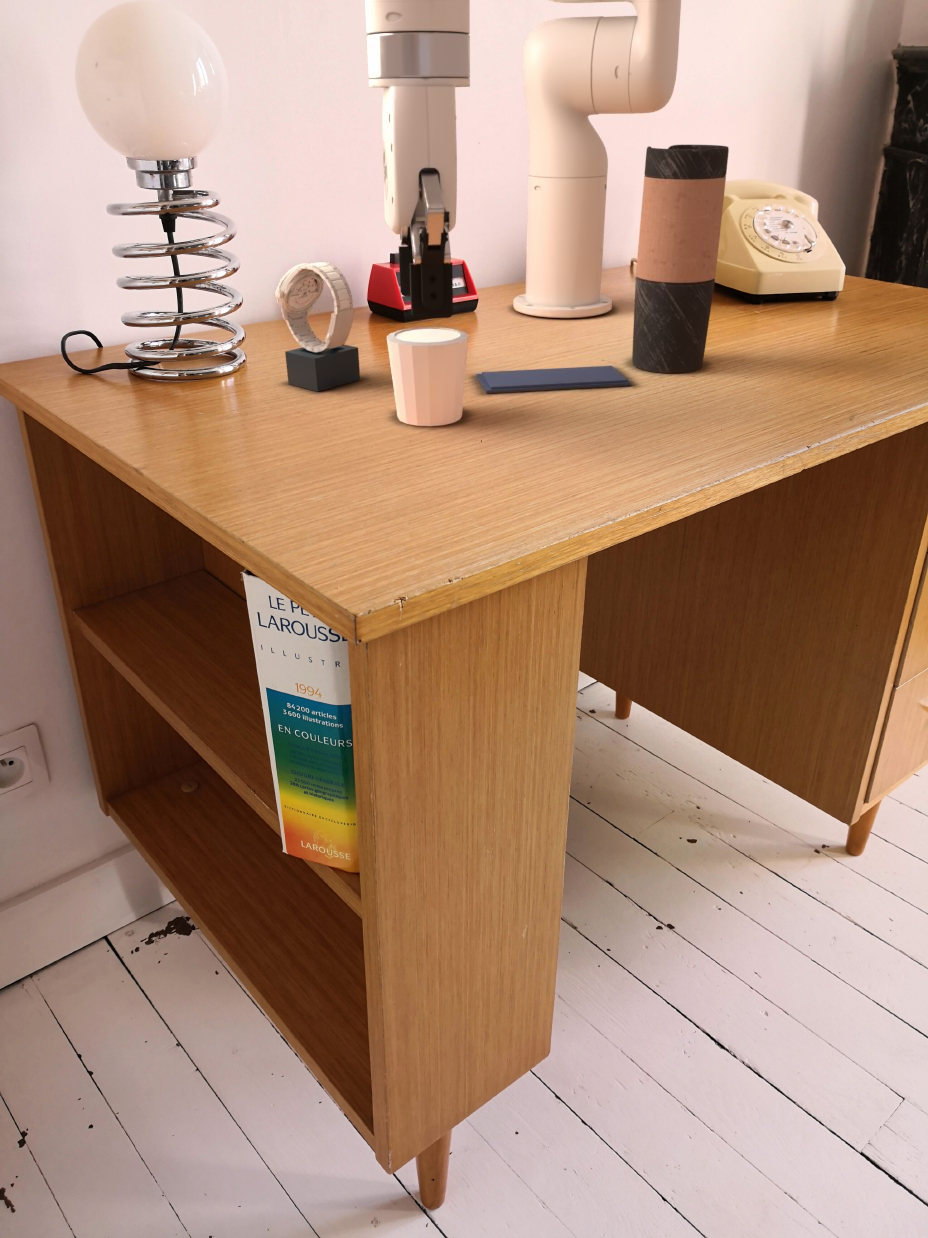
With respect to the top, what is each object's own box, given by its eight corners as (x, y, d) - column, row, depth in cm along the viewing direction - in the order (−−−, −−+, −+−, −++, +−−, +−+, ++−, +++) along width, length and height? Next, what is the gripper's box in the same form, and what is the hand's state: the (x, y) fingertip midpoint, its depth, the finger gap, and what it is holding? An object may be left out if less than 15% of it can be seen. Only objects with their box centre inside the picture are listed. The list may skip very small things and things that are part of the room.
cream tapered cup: (430, 433, 78) (428, 348, 75) (374, 417, 83) (369, 335, 79) (485, 414, 83) (485, 333, 79) (429, 400, 87) (426, 321, 84)
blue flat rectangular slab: (476, 376, 94) (476, 371, 94) (613, 369, 96) (613, 364, 95) (486, 393, 89) (486, 387, 88) (630, 385, 90) (631, 380, 90)
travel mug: (705, 375, 93) (732, 148, 83) (627, 372, 95) (644, 148, 85) (704, 356, 100) (728, 144, 90) (631, 353, 101) (647, 144, 91)
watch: (318, 368, 97) (308, 255, 92) (372, 382, 92) (365, 263, 87) (274, 380, 93) (262, 262, 88) (329, 395, 89) (319, 271, 83)
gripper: (361, 68, 77) (373, 289, 85) (375, 60, 62) (387, 329, 70) (453, 68, 78) (455, 286, 86) (489, 60, 63) (487, 325, 71)
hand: (425, 305), depth 78 cm, fingers open, 9 cm apart
